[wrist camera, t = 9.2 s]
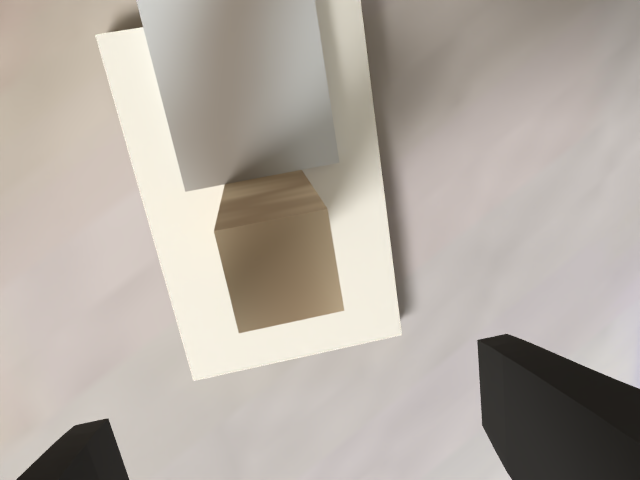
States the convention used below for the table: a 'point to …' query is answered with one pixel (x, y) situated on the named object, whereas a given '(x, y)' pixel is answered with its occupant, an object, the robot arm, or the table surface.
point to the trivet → (203, 204)
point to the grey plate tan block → (253, 144)
